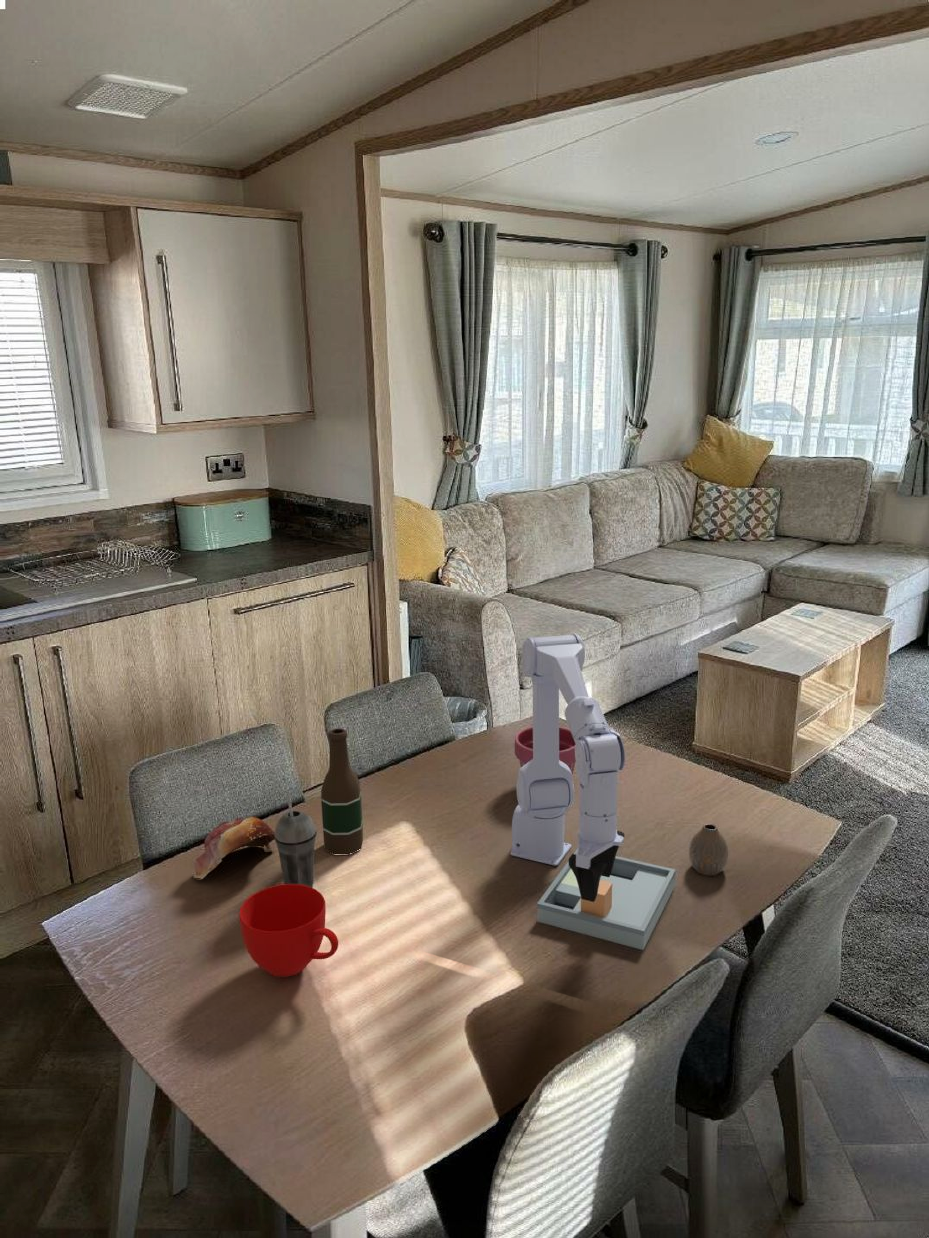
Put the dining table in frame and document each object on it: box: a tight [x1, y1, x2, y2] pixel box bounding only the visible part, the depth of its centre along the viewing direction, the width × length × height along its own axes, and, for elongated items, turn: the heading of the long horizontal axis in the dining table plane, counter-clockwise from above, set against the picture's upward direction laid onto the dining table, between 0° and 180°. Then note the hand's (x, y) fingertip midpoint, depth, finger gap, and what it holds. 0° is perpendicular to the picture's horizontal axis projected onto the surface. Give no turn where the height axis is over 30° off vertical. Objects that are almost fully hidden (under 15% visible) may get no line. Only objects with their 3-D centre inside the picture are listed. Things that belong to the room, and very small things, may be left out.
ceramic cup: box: [238, 883, 339, 978], centre depth 138 cm, size 13×17×10 cm
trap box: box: [536, 848, 677, 951], centre depth 154 cm, size 18×20×3 cm
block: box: [581, 880, 612, 918], centre depth 148 cm, size 4×4×4 cm
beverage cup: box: [274, 791, 318, 888], centre depth 157 cm, size 7×7×20 cm
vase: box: [688, 823, 729, 877], centre depth 163 cm, size 7×7×9 cm
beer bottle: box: [320, 728, 364, 855], centre depth 172 cm, size 8×8×24 cm
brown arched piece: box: [193, 816, 275, 880], centre depth 167 cm, size 16×13×10 cm
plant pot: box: [514, 726, 576, 776], centre depth 194 cm, size 14×14×13 cm
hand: (596, 886), depth 142 cm, fingers open, 7 cm apart
